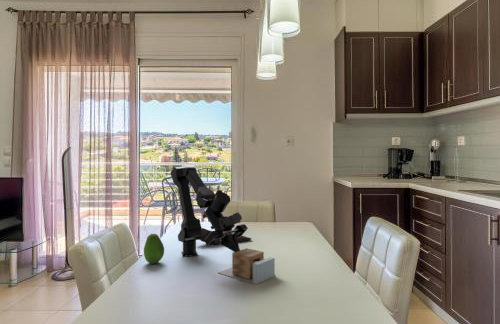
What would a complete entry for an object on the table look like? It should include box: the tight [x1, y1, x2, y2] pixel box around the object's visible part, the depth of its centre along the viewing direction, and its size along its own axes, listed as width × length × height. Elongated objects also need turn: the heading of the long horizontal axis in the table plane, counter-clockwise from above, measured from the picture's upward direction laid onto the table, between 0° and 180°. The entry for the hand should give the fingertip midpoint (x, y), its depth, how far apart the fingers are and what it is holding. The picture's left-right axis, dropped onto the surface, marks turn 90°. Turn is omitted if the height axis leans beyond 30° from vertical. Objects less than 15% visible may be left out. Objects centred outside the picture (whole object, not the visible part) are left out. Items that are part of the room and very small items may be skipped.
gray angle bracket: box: [218, 256, 276, 285], centre depth 128 cm, size 18×11×6 cm, turn 51°
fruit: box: [143, 233, 165, 265], centre depth 142 cm, size 8×8×12 cm
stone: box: [199, 227, 252, 245], centre depth 175 cm, size 28×6×10 cm, turn 110°
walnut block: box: [231, 247, 265, 279], centre depth 128 cm, size 8×8×8 cm
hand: (238, 252), depth 130 cm, fingers closed, pressing on walnut block
